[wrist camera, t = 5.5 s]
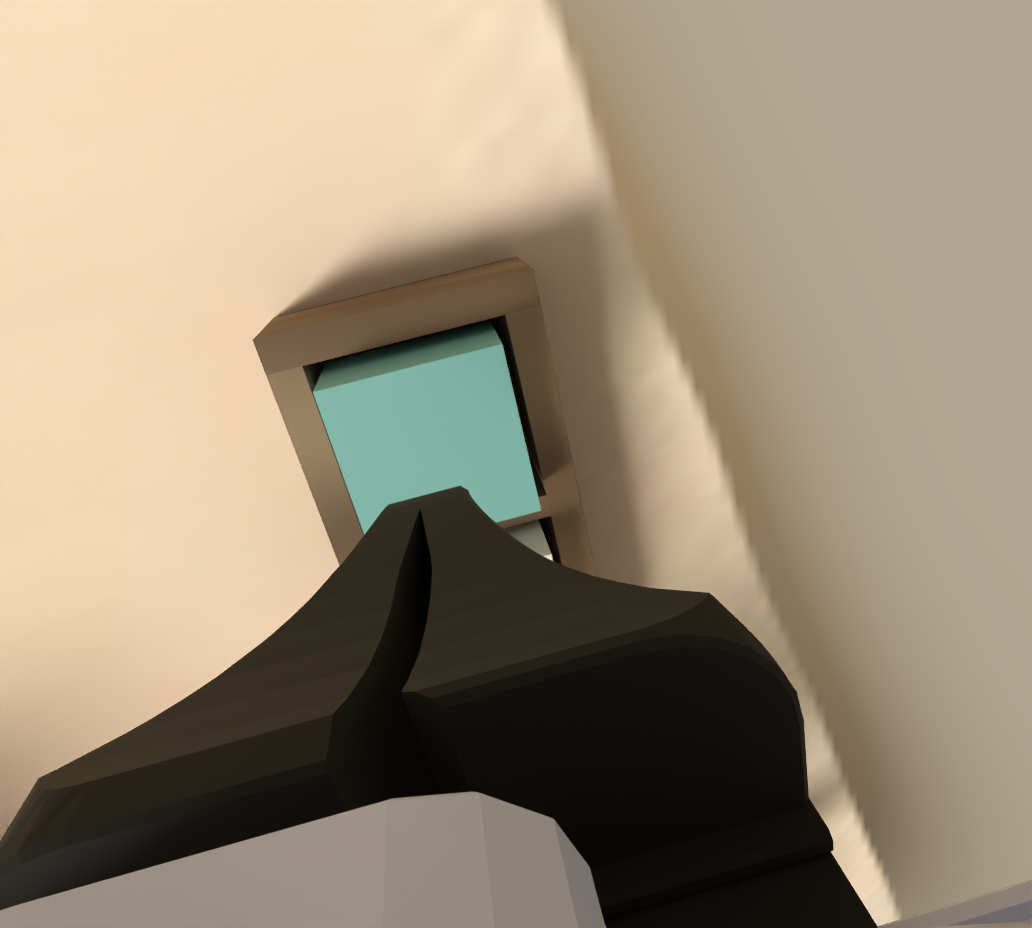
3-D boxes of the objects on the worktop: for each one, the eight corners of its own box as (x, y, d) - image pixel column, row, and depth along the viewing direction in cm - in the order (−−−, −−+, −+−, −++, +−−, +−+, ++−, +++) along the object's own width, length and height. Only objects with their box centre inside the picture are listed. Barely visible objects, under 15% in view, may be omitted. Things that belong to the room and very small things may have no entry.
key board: (593, 619, 22) (615, 671, 20) (403, 671, 22) (403, 730, 19) (516, 257, 17) (533, 269, 15) (274, 317, 17) (252, 339, 15)
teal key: (524, 468, 18) (541, 510, 16) (376, 506, 18) (371, 555, 16) (489, 320, 17) (501, 343, 14) (326, 361, 16) (312, 391, 14)
